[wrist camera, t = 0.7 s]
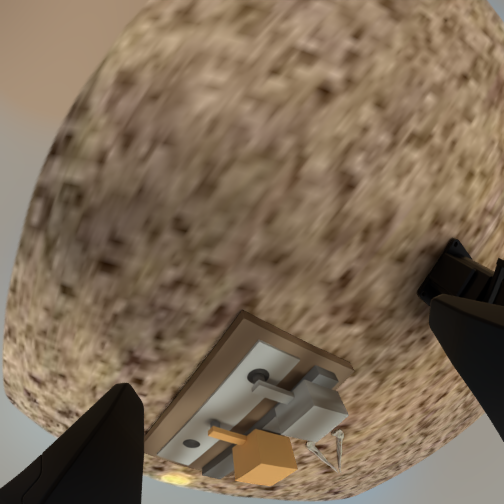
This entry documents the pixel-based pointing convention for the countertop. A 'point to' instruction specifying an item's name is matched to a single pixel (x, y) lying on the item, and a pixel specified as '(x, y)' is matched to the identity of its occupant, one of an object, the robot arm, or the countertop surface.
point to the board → (250, 396)
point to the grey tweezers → (340, 436)
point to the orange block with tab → (258, 455)
